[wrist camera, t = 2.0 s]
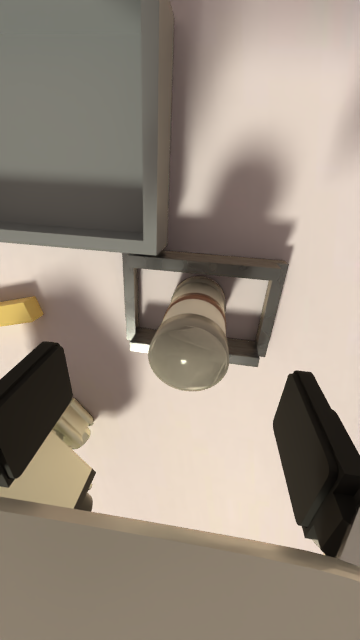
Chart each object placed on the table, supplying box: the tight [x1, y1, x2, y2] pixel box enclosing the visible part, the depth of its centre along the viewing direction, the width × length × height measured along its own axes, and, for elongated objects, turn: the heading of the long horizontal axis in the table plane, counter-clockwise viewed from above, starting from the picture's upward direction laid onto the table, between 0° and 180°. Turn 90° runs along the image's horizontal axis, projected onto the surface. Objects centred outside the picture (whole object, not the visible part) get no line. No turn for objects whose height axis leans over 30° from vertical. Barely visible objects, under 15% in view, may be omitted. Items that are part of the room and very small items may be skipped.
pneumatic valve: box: [0, 398, 96, 512], centre depth 23 cm, size 6×12×12 cm, turn 32°
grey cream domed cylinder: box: [148, 276, 229, 391], centre depth 16 cm, size 4×4×8 cm
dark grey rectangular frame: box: [122, 250, 289, 367], centre depth 19 cm, size 12×8×2 cm, turn 87°
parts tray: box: [0, 0, 174, 256], centre depth 15 cm, size 17×12×4 cm
